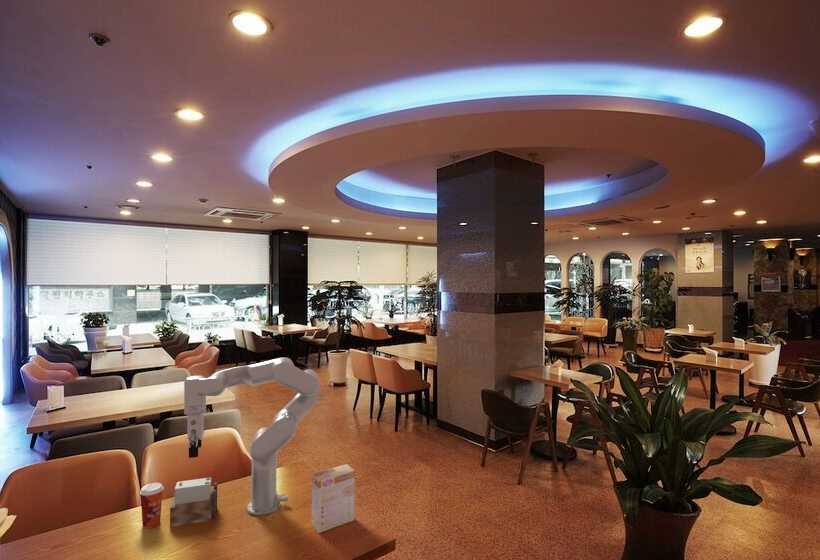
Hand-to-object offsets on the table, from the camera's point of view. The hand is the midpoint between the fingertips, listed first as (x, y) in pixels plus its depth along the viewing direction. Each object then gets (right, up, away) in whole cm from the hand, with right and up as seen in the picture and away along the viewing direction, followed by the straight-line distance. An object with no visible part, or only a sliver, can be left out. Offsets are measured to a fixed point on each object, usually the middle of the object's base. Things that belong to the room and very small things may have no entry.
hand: (195, 452), depth 169 cm
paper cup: (-13, -25, -6) cm, 29 cm away
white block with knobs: (0, -18, -1) cm, 18 cm away
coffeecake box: (+54, -26, -4) cm, 60 cm away
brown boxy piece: (-1, -25, -1) cm, 25 cm away
